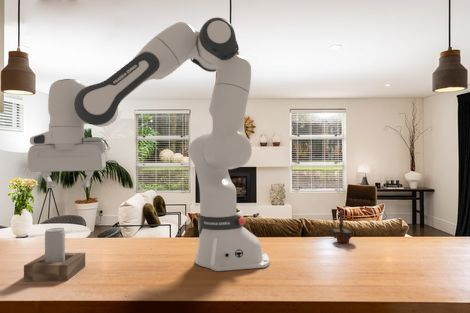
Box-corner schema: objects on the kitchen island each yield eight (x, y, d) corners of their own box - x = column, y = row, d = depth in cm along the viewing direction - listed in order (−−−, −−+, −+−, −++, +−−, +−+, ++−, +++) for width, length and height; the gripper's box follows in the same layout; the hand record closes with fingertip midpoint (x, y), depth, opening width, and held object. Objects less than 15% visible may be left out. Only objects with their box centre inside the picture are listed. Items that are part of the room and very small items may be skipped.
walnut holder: (85, 266, 97) (85, 252, 97) (67, 280, 86) (67, 265, 86) (46, 266, 96) (46, 253, 96) (23, 281, 85) (23, 265, 85)
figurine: (356, 246, 118) (356, 212, 118) (333, 245, 118) (333, 212, 118) (349, 239, 127) (349, 208, 127) (327, 239, 128) (327, 207, 128)
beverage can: (57, 277, 88) (57, 231, 88) (40, 276, 89) (40, 231, 89) (68, 270, 93) (68, 227, 93) (52, 270, 94) (52, 227, 94)
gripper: (108, 137, 97) (109, 185, 97) (36, 139, 96) (37, 187, 96) (100, 136, 90) (101, 187, 91) (23, 138, 90) (24, 189, 90)
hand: (68, 187), depth 93 cm, fingers open, 8 cm apart
